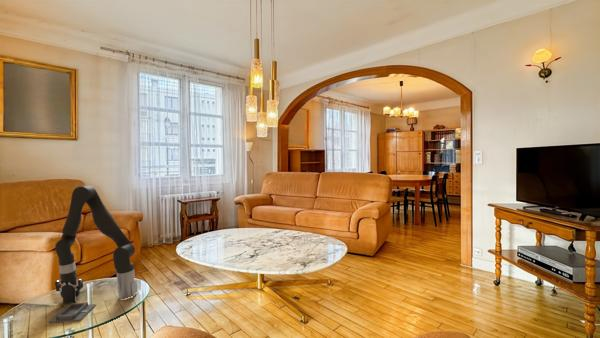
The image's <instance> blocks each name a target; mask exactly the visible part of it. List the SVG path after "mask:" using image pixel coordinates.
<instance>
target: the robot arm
mask: <svg viewBox="0 0 600 338" xmlns="http://www.w3.org/2000/svg"><path fill="white" fill-rule="evenodd" d="M85 204H86V205H87V206H88V208H89V209H90V211H91V217H92V220H93V223H94V224H95V226H96V228H97V229H98V230H99V232H100V233H101V234H103V235H105V236H106V237H108V238H110V239H111V240H112V241H113V242H114V243H115V244H116V246H117V248H115V249H114V251H113V254H112V259H113V265H114V269H115V270H116V281H117V294H118V299H119V300H120V299H125V298H128V297H131V296H134V294H135V293H136V292H137V293H138V283H137V278H135V275H136V274H135V266H134V265H135V264H134V263H133V262H131V260H130V259H131V257H132V256H133V255H134V254H135V252H136V247H135V245H134V244H133V243H132V242H131V240H130V239H129V238H128V237H127V236H126V234H125V233H124V232H123V231H122V229H121V228H120V226H119V225H118V223H117V222H116V220H115V218H114V217H113V216H112V214H111V212H109V210H108V209H107V207H106V206H105V204H104V203H103V201H102V199H101V197H100V195H99V193H98V192H97V190H96V188H95V187H94V186H92V185H88V184H84V185H80V186H77V187H75V188H74V189H73V190H72V193H71V199H70V205H69V209H68V214H67V216H66V219H65V222H64V224H63V227H62V230H61V233H62V235H61V238H59V240H58V241H57V242H56V243H55V247H54V248H55V253H56V255H57V258H58V266H59V267H58V270H59V279H57V280H56V281H55V282H54V285H55V286H54V287H55V291H56V292H60V297H61V298H62V299H63V297H62V286H65V285H72V286H73V287H74V288H75V294H76V297H79V296H80V295H81V289H83V288H84V280H83V277H82V278H77V267H76V262H75V254H74V253H73V252H72V250H71V247H72V246H73V245H74V244H75V241H76V237H77V233H78V230H79V228H80V225H81V221H82V210H83V207H84V205H85ZM75 283H76V285H75V286H74V284H75ZM76 286H77V288H76Z"/></svg>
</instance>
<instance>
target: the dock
mask: <svg viewBox="0 0 600 338" xmlns="http://www.w3.org/2000/svg"><path fill="white" fill-rule="evenodd" d="M96 306H97V304H96V303H94V304H93V303H91V304H89V302H86V301H85V302H75V303H69V305H66V306H64V307H63V308H62V309H61V310H59V311H58V312H57V313H56V314H55V315H54V316H52V317H51V318H50V319H49V320H48V321H47V324H48V323H49V324H59V323H75V322H81V321H82V320H83V319H84V318H85V317H86V316H87V315H88V314H89V313H90V312H91V311H93V309H94V308H95V307H96Z"/></svg>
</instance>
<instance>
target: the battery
mask: <svg viewBox="0 0 600 338" xmlns="http://www.w3.org/2000/svg"><path fill="white" fill-rule="evenodd" d="M75 285H76V283H75V284H74V286H75ZM61 287H62V297H63V298H62V297H61V298H62V303H63V304H71V303H77V301H78V298H77V297H78V296H77V297H76V294H75V288H74V287H73V286H72V285H65V286H62V285H61ZM76 288H77V286H76Z"/></svg>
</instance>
